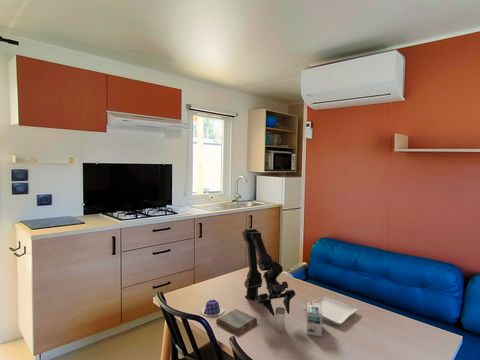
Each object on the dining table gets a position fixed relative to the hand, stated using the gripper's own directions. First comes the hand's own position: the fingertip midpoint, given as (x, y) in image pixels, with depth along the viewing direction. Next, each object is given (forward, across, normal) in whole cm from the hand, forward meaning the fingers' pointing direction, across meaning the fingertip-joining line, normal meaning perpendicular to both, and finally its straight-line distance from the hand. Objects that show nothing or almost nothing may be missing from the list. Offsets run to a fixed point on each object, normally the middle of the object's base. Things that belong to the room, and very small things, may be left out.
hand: (281, 314), depth 144 cm
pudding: (-13, -26, +24) cm, 38 cm away
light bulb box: (+9, +15, +2) cm, 17 cm away
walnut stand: (-3, -18, +13) cm, 23 cm away
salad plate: (+2, +32, +9) cm, 33 cm away
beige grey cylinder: (+4, 0, +6) cm, 7 cm away
